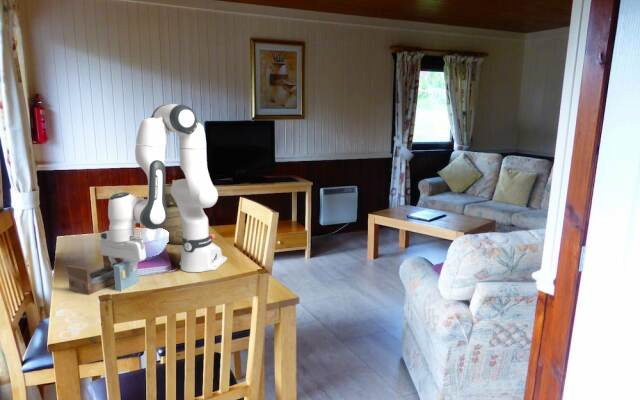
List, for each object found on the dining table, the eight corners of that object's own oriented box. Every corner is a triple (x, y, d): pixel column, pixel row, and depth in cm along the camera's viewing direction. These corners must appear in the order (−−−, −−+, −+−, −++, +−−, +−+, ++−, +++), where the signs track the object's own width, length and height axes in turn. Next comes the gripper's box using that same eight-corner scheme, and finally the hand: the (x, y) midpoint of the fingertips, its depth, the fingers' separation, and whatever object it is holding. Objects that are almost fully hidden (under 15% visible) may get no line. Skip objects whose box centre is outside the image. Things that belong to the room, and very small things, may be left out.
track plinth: (106, 274, 194) (104, 252, 192) (125, 278, 190) (123, 255, 188) (69, 290, 177) (67, 266, 175) (89, 294, 174) (86, 269, 172)
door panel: (132, 281, 187) (130, 258, 185) (139, 283, 185) (137, 259, 183) (115, 290, 178) (113, 265, 176) (122, 291, 177) (120, 267, 175)
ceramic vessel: (207, 238, 246) (205, 183, 240) (177, 248, 228) (174, 189, 222) (182, 233, 256) (179, 180, 249) (151, 242, 238) (147, 186, 231)
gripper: (149, 236, 176) (150, 270, 179) (108, 229, 184) (110, 262, 186) (136, 240, 171) (138, 275, 173) (95, 233, 178) (98, 267, 181)
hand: (123, 268), depth 180 cm, fingers open, 8 cm apart
